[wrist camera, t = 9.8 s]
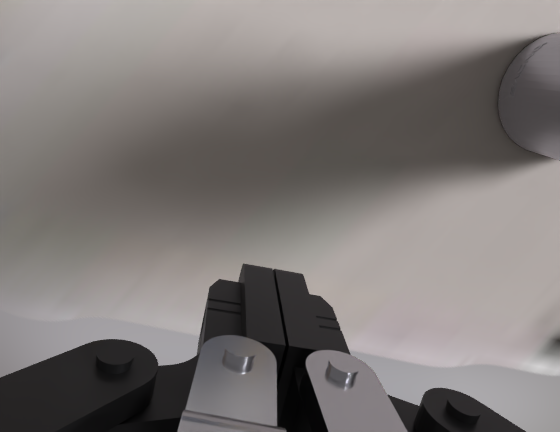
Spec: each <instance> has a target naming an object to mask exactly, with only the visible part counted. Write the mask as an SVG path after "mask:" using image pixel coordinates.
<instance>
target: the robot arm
mask: <svg viewBox="0 0 560 432" xmlns="http://www.w3.org/2000/svg"><path fill="white" fill-rule="evenodd" d="M498 108H499V117H500V119H501V122H502V125H503V128H504V129H505V131H506V133H507V134H508V136H509V137H510V138H511V139H512V140H513V141H514V142H515V143H516V144H517V145H519V146H521V147H523V148H524V149H526V150H529V151H532V152H535V153H538V154H541V155H544V156H547V157H551V158H554V159H557V160H559V161H560V33H554V34H550V35H547V36H544V37H542V38H539V39H537V40H536V41H534V42H533V43H531V44H529V45H528V46H527V47H525V48H524V49H523V50H522V51H521V52H520V53H519V54H518V55H517V56H516V58H515V59H514V60H513V62H512V63H511V64H510V66H509V67H508V69H507V71H506V73H505V75H504V77H503V80H502V83H501V87H500V90H499V99H498ZM0 432H526V431H524V430H522V429H521V428H519V427H518V426H516V425H515V424H513V423H512V422H510V421H508V420H507V419H505V418H504V417H502V416H501V415H499V414H498V413H496V412H494V411H493V410H491V409H490V408H488V407H487V406H485V405H484V404H482V403H480V402H479V401H477V400H475V399H474V398H472V397H470V396H468V395H466V394H463V393H461V392H458V391H455V390H451V389H446V388H433V389H430V390H428V391H426V392H425V394H424V395H423V398H422V401H421V403H420V406H418V405H414V404H412V403H409V402H406V401H403V400H400V399H398V398H395V397H392V396H390V395H387V393H386V392H385V390H384V388H383V386H382V384H381V383H380V381H379V379H378V377H377V375H376V374H375V372H374V371H373V370H372V369H371V367H369V366H368V365H367V364H366V363H364V362H363V361H361V360H360V359H358V358H356V357H354V356H352V355H350V352H349V349H348V347H347V344H346V342H345V339H344V336H343V334H342V331H340V326H339V323H338V321H337V318H336V316H335V313H334V311H333V308H332V307H331V306H330V305H329V304H328V303H327V302H326V301H325V300H324V299H323V298H322V297H321V296H316V295H311V294H309V292H308V289H307V285H306V282H305V279H304V276H303V274H300V273H295V272H289V271H283V270H277V269H274V270H273V269H271V268H266V267H260V266H254V265H248V264H243V266H242V269H241V273H240V277H239V281H238V282H233V281H227V280H221V279H219V280H218V281H217V282H215V283H214V284H213V285H212V286H211V287H210V288H209V293H208V298H207V303H206V308H205V313H204V318H203V323H202V328H201V333H200V338H199V343H198V351H197V356H195V357H194V358H192V359H190V360H188V361H186V362H184V363H179V364H175V365H165V366H158V362H157V359H156V357H155V355H154V354H153V353H152V352H151V351H150V350H148V349H147V348H145V347H143V346H141V345H139V344H137V343H133V342H131V341H126V340H117V339H107V340H99V341H94V342H91V343H88V344H85V345H82V346H80V347H77V348H75V349H72V350H70V351H67V352H64V353H62V354H59V355H57V356H54V357H52V358H50V359H47V360H44V361H42V362H39V363H37V364H34V365H31V366H29V367H27V368H24V369H21V370H19V371H16V372H14V373H11V374H8V375H6V376H3V377H1V378H0Z"/></svg>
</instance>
